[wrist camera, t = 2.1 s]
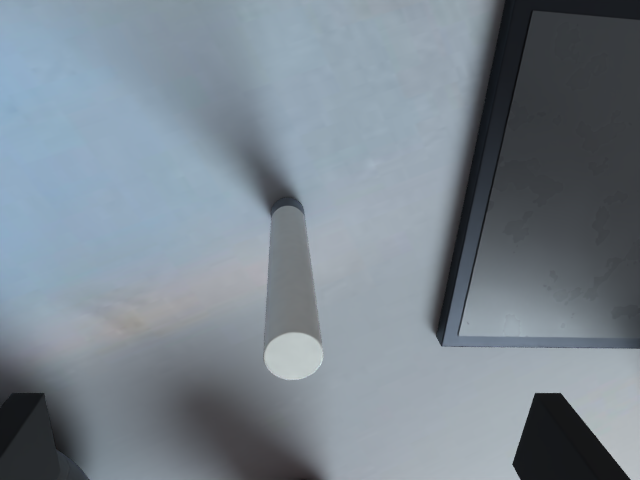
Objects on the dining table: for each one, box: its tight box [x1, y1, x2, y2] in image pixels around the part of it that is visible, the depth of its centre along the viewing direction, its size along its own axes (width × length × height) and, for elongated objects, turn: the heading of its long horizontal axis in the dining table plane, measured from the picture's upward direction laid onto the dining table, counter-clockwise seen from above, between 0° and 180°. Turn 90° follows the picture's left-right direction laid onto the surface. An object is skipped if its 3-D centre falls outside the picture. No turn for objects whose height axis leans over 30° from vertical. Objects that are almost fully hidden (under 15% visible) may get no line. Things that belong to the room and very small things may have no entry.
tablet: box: [436, 0, 640, 349], centre depth 28 cm, size 22×16×1 cm
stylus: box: [263, 198, 323, 380], centre depth 21 cm, size 2×2×14 cm
